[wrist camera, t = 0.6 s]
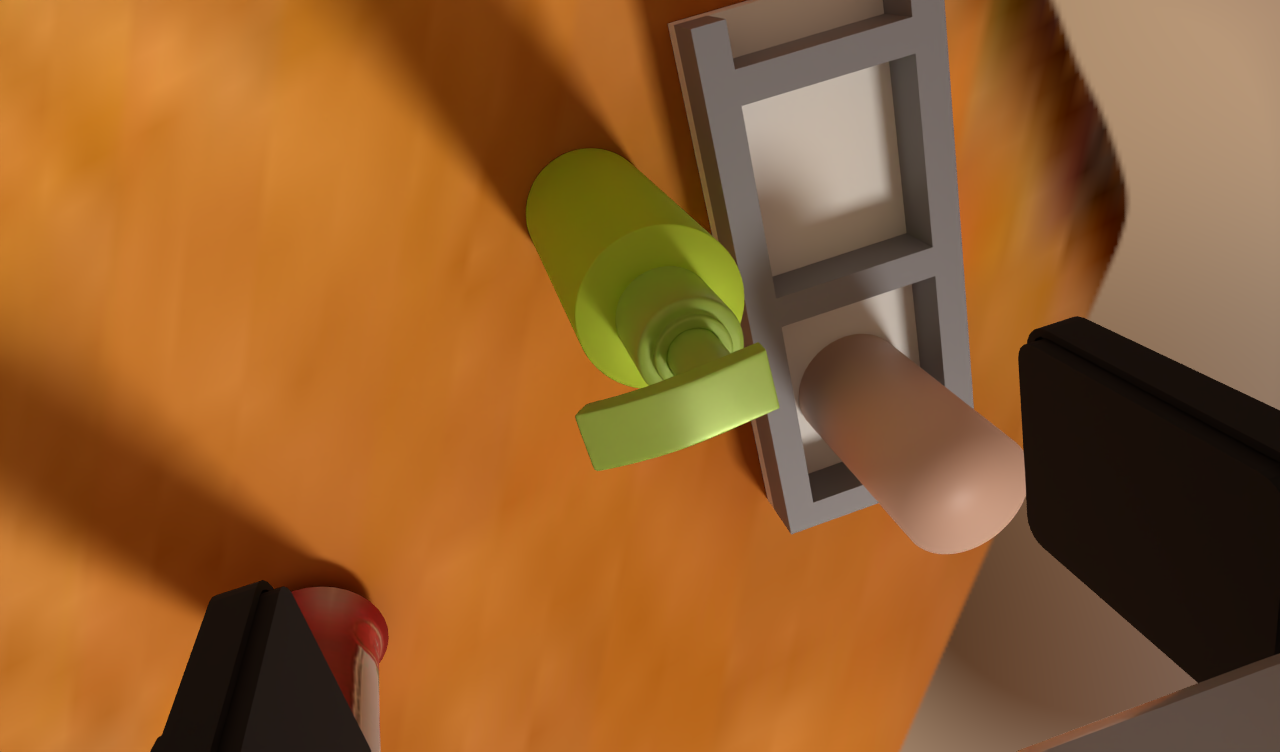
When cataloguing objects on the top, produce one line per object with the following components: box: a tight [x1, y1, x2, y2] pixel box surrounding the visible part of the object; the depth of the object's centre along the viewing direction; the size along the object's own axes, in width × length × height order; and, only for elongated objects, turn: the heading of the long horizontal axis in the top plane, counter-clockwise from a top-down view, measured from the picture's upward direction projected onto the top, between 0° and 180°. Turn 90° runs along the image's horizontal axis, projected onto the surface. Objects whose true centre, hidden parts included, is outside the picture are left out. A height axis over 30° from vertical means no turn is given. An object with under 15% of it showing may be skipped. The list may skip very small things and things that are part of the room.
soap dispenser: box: [526, 148, 780, 471], centre depth 33 cm, size 6×7×20 cm
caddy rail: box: [668, 0, 1026, 554], centre depth 40 cm, size 26×11×12 cm, turn 14°
